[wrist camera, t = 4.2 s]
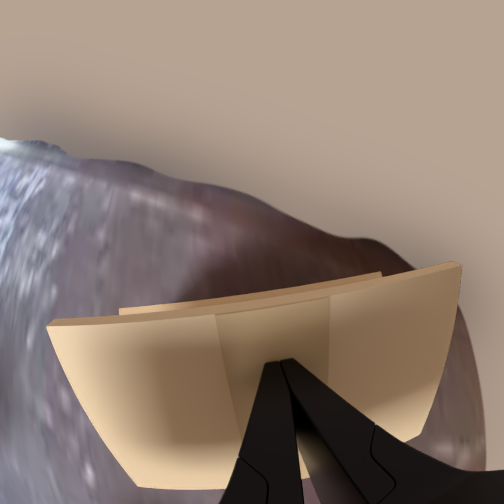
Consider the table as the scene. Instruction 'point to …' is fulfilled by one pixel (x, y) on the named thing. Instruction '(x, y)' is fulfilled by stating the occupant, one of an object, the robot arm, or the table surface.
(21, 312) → the table surface
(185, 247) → the table surface
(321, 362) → the carton lid
